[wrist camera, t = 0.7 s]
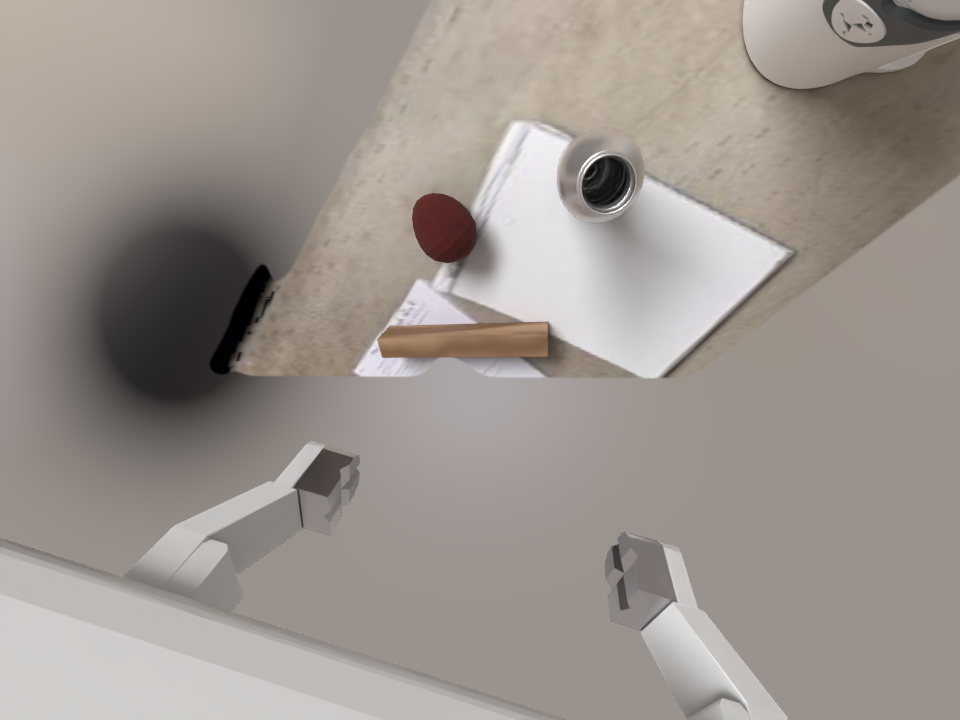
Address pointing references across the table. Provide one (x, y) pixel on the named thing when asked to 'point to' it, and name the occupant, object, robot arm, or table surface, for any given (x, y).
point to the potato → (443, 227)
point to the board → (466, 340)
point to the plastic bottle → (600, 174)
